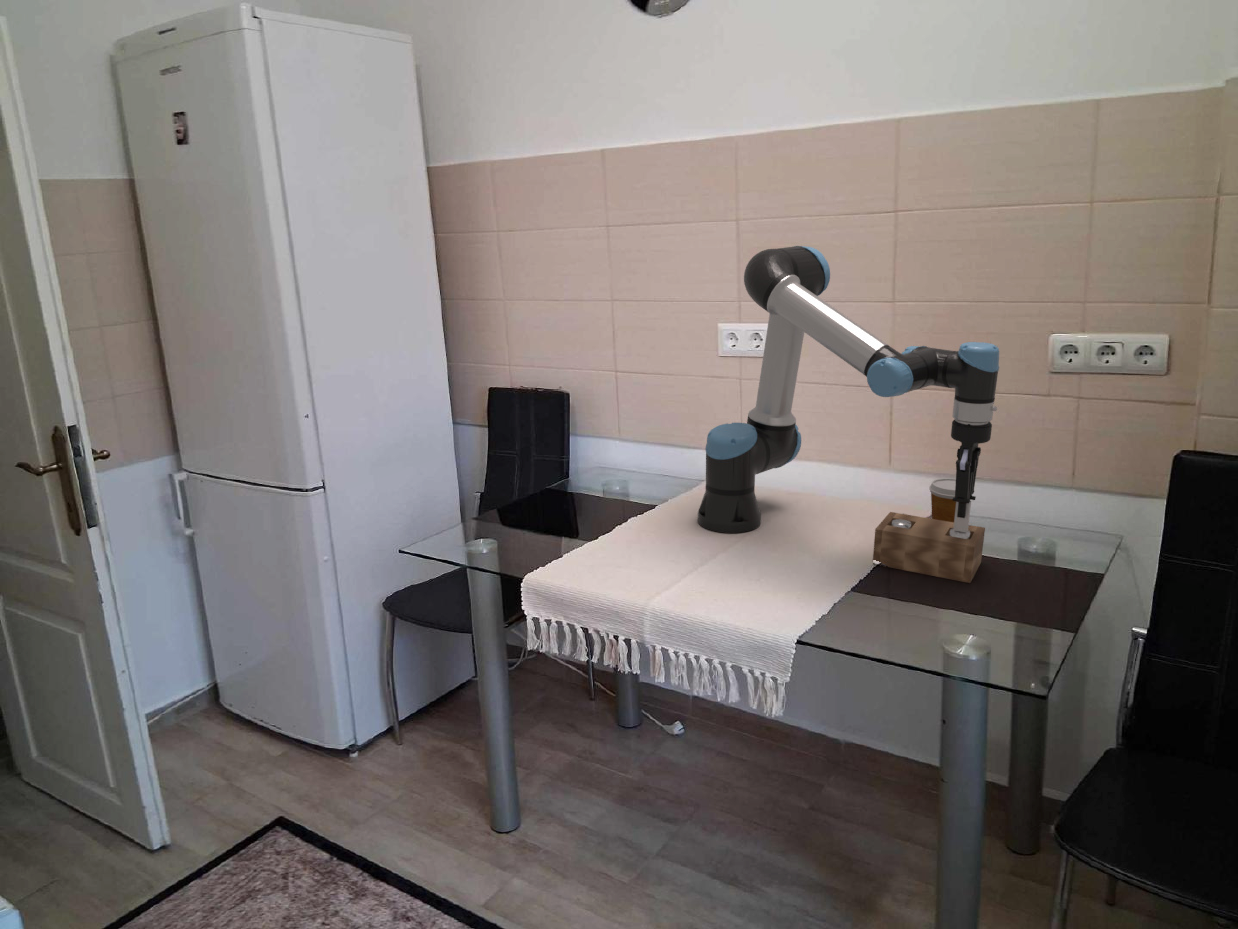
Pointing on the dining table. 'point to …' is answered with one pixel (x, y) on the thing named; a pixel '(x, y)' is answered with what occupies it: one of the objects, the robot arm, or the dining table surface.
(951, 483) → the disposable coffee cup
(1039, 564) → the dining table surface
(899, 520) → the pin
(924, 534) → the socket block
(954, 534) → the pin
